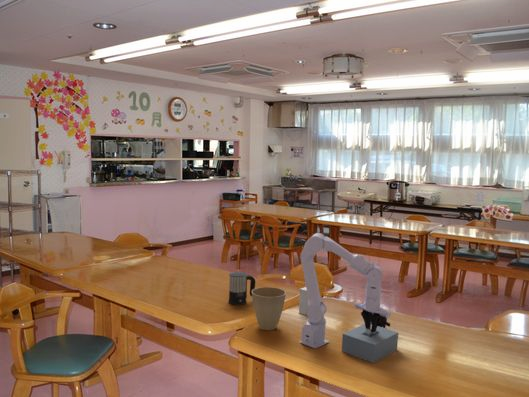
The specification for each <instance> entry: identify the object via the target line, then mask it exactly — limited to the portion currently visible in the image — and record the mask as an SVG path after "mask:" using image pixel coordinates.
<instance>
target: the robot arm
mask: <svg viewBox="0 0 529 397" xmlns="http://www.w3.org/2000/svg"><path fill="white" fill-rule="evenodd" d="M322 249H323V250H322ZM321 250H322V252H332V253H333V254H335V255H336V256H339V257H340V258H341V259H343V260H345V261H347V262H348V263H349V267H350V268H352V269H353V270H355V271H357V272H358V273H360V275H363V276H365V277H366V279H367V280H366V284H365V300H364V303H361V302H355V304H354V309H356V310H362V311H361V312H360V315H361V317H362V320H363V322H364V324H365V327H366V328H368V327H370V326H371V320H372V332H375V331H376V329H377V326H378V323H379V321H380V319H381V318H382V316H385V317H386V318H387V319H389V318H391V311H388V310H385V309H384V308H381V298H382V297H381V296H382V279H383V270H382V268H381V267H380V265H378V264H375V263H374V262H373V261H372V262H370V260H367V259H366V258H364V257H365V256H364V255H363V254H359V253H358V254H357V253H355V254H353V253H352V252H350V251H349V250H347V249H346V248H345V247H343V246H341V245H340V244H339V243H337V241H335V240H333V239H332V238H330V237H328V236H327V235H324V234H323V233H322V232H321V233H320V232H316V233H314V234H312V236H311V237H308V239H307V240H306V242H305V243H304V246H303V248H302V251H301V253H300V255H299V258H300V262H301V267H302V274H303V277H304V283H305V284H304V285H305V287H306V289H307V295H308V309H309V310H308V314H307V315H306V316H307V321H306V323H305V324H303V326H302V328H301V340H300V341H299V344H303V345H305V346H308V347H310V348H312V349H317V348H319V347H322V346H324V345H326V344H328V343H330V340H327V339H326V338H325V337H326V322H327V320H326V318H325V314H326V313H327V306H326V305H325V303H324V302H323V298H322V296H321V293H320V288H319V282H318V278H317V272H316V267H315V260H314V257H315V256H316V254H318V253H320V251H321ZM372 313H374V314H373V315H372Z"/></svg>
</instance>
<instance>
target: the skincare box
mask: <svg viewBox="0 0 529 397" xmlns="http://www.w3.org/2000/svg"><path fill="white" fill-rule="evenodd" d="M308 310H309V309H308V295H307V289H306V286H304V287H300V288H299V303H298V313H299V314H302V315H304V316H307V314H308Z"/></svg>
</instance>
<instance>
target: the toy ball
mask: <svg viewBox="0 0 529 397" xmlns="http://www.w3.org/2000/svg"><path fill="white" fill-rule="evenodd" d="M373 314H374V313H372V315H373ZM371 324H372V320H371ZM378 326H379V327H382V328H386V326H387V327H390V326H391V323H390V322H389V321H388V318H386V317H385V316H382V318H381V319H380V321H379V323H378Z"/></svg>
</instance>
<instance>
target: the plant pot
mask: <svg viewBox="0 0 529 397" xmlns="http://www.w3.org/2000/svg"><path fill="white" fill-rule="evenodd" d="M286 294H287V292H286V290H285V289H283V288H280V287H274V286H262V287H255V289H253V290H252V296H251V299H252V304H253V310H254V313H255V314H254V315H255V317H256V318H255V319H256V322H257V324H258V327H259V329H261V330H263V331H274V330H275V329H276V328H277V327H278V325H279V322H280V318H281V317H282V312H283V309H284V305H285V300H286Z"/></svg>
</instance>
